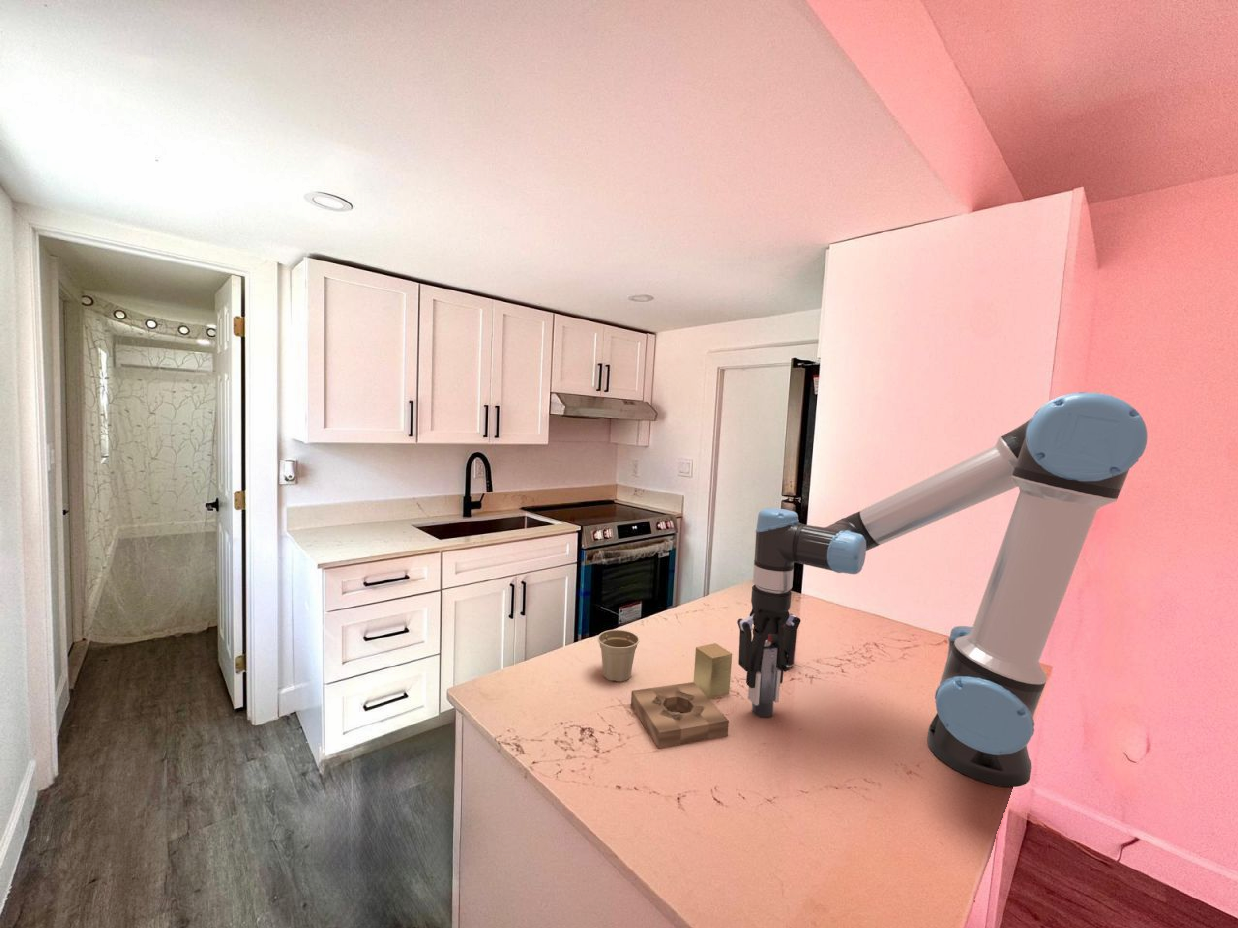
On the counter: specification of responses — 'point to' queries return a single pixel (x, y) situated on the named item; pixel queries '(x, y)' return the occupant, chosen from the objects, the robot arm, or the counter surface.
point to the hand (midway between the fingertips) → (763, 699)
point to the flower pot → (617, 653)
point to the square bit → (713, 670)
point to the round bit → (766, 681)
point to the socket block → (675, 728)
